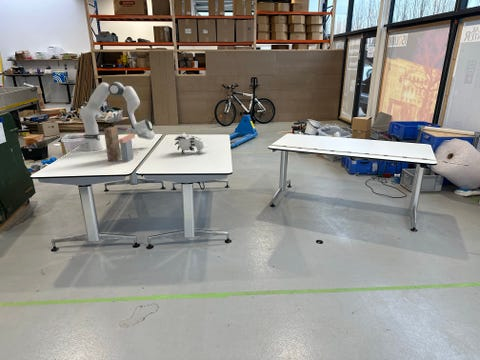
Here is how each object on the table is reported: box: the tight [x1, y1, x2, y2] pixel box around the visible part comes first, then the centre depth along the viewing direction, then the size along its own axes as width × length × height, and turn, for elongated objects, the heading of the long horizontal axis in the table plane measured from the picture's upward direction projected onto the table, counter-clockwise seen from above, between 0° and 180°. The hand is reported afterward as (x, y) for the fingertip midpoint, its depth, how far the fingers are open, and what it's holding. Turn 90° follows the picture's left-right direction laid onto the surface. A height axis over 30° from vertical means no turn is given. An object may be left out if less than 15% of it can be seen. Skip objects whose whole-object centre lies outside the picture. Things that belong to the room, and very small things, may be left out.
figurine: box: [174, 132, 210, 155], centre depth 292 cm, size 17×16×30 cm
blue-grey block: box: [119, 139, 135, 163], centre depth 268 cm, size 5×10×16 cm, turn 173°
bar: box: [119, 133, 136, 144], centre depth 268 cm, size 3×22×3 cm, turn 172°
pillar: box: [103, 126, 122, 162], centre depth 268 cm, size 6×10×26 cm, turn 172°
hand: (132, 130), depth 284 cm, fingers open, 8 cm apart
